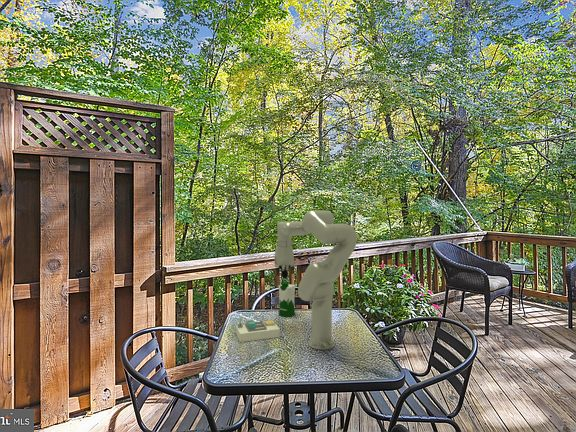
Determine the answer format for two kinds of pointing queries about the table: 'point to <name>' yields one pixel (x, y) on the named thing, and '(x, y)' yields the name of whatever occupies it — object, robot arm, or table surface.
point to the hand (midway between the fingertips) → (284, 277)
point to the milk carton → (286, 299)
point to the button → (269, 323)
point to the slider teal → (251, 325)
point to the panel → (256, 331)
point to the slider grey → (249, 321)
